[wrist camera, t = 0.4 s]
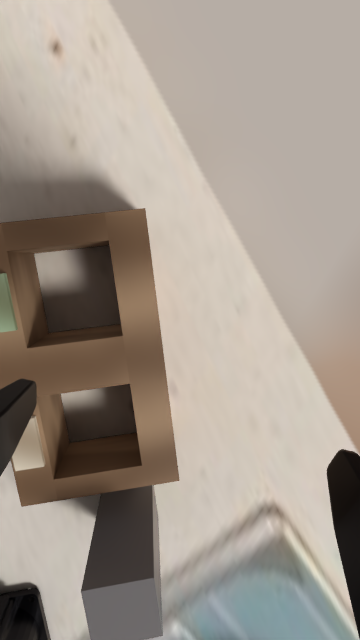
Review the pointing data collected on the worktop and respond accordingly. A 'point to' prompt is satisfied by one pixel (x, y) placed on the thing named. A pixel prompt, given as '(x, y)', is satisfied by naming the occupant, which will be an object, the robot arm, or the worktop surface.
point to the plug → (124, 568)
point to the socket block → (85, 361)
